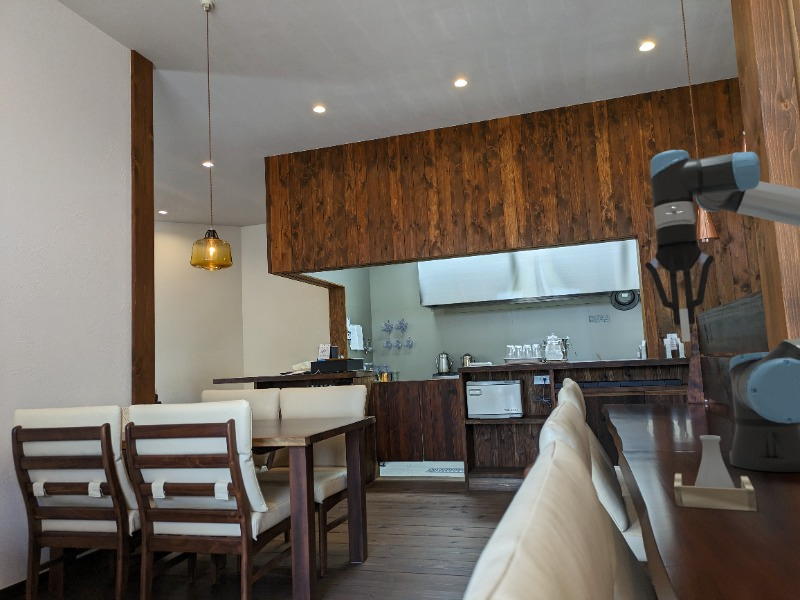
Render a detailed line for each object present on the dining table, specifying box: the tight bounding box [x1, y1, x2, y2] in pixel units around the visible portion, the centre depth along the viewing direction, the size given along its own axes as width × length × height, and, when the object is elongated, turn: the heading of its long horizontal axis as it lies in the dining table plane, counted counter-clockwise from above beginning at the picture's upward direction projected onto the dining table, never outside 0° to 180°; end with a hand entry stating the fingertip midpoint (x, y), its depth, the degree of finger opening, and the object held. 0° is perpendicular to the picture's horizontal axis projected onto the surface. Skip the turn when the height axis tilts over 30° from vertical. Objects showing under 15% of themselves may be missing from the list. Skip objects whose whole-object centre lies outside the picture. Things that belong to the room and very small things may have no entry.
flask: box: [694, 434, 736, 488], centre depth 96 cm, size 7×7×10 cm
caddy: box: [673, 473, 758, 512], centre depth 94 cm, size 12×11×3 cm
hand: (686, 341), depth 116 cm, fingers closed
